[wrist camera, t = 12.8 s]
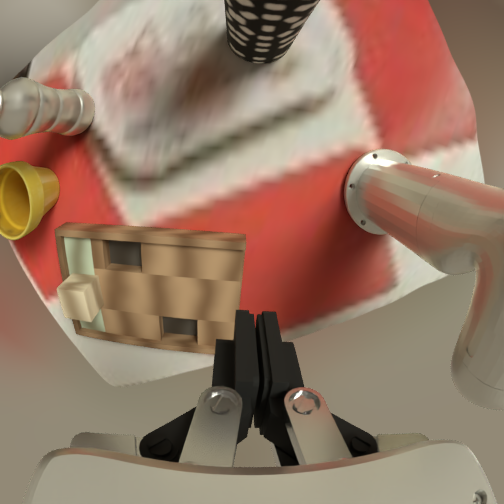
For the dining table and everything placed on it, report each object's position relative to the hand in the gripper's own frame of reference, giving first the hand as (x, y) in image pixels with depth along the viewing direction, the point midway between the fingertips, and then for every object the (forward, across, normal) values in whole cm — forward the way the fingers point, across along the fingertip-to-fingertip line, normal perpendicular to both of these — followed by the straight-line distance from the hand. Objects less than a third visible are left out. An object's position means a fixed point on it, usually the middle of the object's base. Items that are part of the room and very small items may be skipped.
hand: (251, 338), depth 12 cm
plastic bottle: (+27, +24, -12) cm, 38 cm away
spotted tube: (+27, 0, -23) cm, 36 cm away
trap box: (+27, +13, +14) cm, 33 cm away
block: (+24, +23, +14) cm, 36 cm away
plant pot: (+27, +31, -1) cm, 41 cm away
